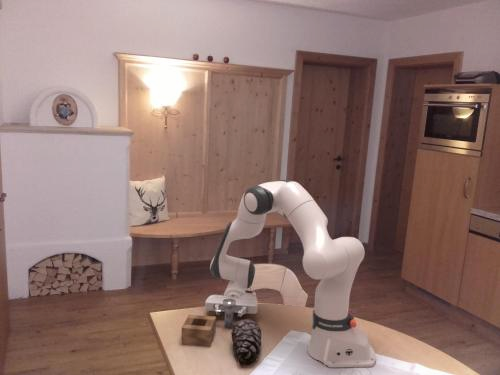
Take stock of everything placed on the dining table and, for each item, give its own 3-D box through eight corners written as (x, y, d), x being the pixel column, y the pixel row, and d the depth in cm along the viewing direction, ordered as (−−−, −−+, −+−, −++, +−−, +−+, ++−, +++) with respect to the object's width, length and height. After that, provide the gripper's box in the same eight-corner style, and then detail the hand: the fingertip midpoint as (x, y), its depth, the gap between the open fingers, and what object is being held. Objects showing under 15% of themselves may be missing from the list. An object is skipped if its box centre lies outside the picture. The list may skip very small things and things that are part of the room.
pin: (236, 323, 169) (236, 299, 167) (234, 330, 164) (234, 304, 162) (223, 322, 169) (223, 298, 168) (221, 329, 165) (221, 303, 163)
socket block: (215, 332, 162) (215, 316, 161) (210, 346, 153) (210, 330, 152) (188, 329, 163) (188, 314, 162) (181, 344, 154) (181, 327, 153)
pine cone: (236, 370, 140) (236, 340, 138) (229, 341, 157) (229, 314, 155) (268, 367, 141) (269, 338, 140) (258, 339, 159) (259, 312, 157)
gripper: (208, 288, 179) (201, 303, 166) (259, 292, 177) (256, 307, 163) (208, 303, 180) (201, 319, 167) (259, 307, 178) (255, 323, 165)
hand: (228, 313), depth 165 cm, fingers open, 7 cm apart
